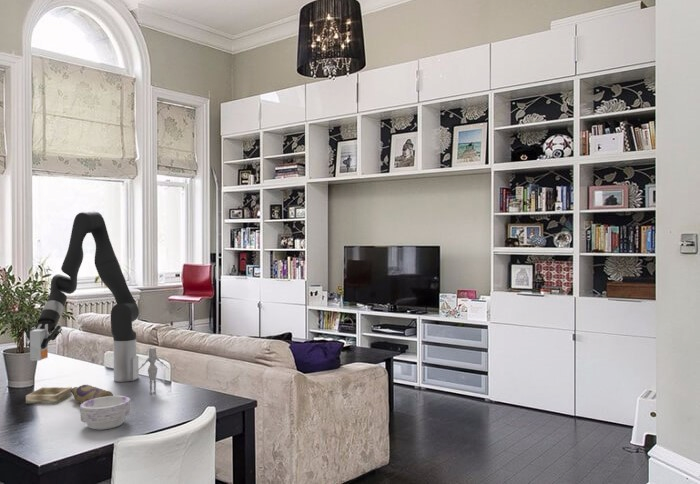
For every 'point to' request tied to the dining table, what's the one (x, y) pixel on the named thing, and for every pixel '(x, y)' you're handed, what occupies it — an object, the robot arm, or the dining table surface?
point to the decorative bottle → (88, 393)
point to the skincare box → (37, 345)
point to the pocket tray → (48, 395)
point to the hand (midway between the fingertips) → (36, 347)
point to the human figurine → (152, 368)
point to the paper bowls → (105, 411)
